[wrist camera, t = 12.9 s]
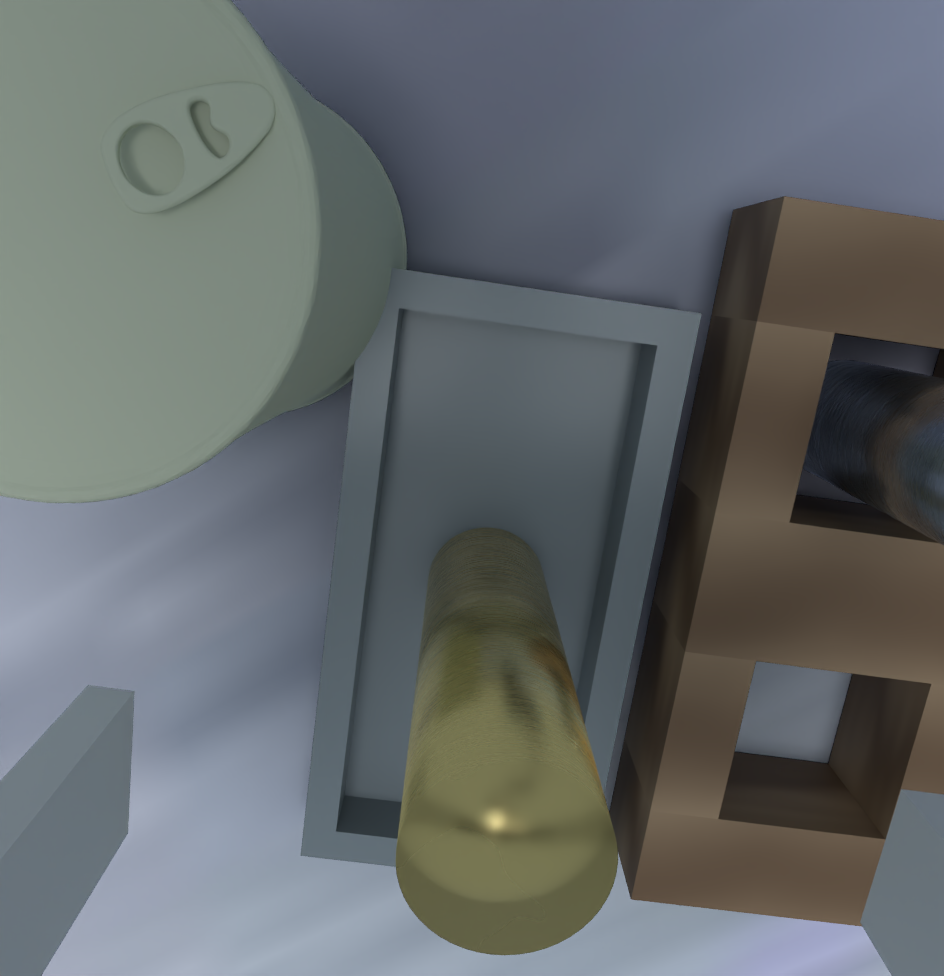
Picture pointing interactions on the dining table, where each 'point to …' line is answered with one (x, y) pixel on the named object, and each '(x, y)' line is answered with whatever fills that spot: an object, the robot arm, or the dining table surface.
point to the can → (170, 243)
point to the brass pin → (499, 762)
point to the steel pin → (883, 441)
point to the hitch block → (786, 588)
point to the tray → (487, 509)
